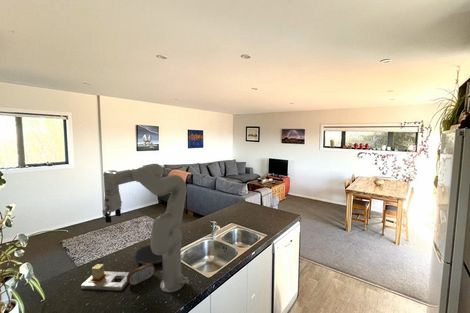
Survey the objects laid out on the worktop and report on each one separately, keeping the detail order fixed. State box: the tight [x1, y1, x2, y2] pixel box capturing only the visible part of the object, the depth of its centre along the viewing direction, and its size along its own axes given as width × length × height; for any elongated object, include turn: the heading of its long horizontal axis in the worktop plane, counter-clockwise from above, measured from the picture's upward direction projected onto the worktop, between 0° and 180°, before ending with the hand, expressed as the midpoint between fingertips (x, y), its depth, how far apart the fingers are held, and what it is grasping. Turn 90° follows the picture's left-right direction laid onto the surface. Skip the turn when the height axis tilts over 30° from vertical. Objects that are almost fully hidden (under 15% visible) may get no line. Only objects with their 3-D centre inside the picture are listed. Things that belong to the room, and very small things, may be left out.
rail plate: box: [80, 270, 130, 291], centre depth 123 cm, size 22×12×2 cm, turn 87°
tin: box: [127, 263, 156, 286], centre depth 123 cm, size 15×3×8 cm, turn 135°
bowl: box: [133, 244, 163, 266], centre depth 145 cm, size 22×22×5 cm
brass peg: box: [91, 263, 105, 281], centre depth 123 cm, size 4×4×9 cm
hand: (113, 219), depth 134 cm, fingers open, 9 cm apart
